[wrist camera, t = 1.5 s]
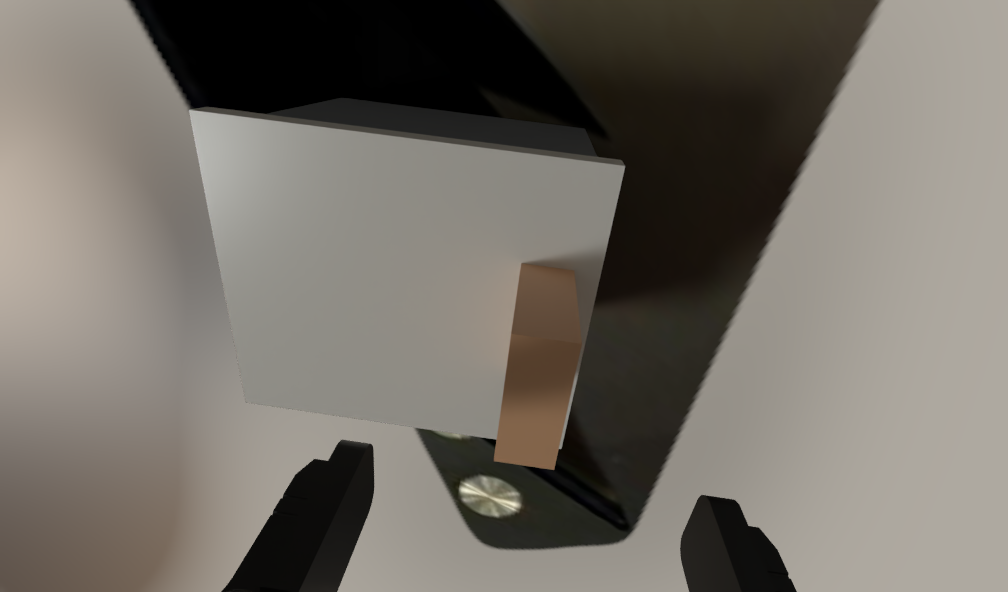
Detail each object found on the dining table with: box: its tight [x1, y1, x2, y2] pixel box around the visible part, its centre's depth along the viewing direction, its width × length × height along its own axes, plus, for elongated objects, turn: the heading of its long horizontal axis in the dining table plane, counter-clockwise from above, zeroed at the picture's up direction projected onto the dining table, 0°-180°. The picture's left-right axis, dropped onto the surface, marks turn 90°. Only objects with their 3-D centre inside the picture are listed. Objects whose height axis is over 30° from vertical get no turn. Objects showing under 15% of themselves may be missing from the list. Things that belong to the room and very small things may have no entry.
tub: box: [267, 98, 597, 157], centre depth 25 cm, size 12×14×11 cm
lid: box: [189, 107, 625, 470], centre depth 18 cm, size 13×15×7 cm
